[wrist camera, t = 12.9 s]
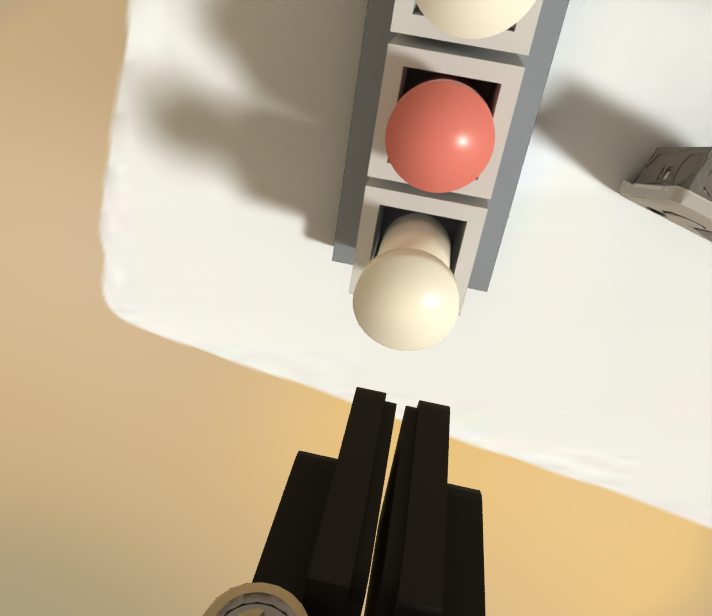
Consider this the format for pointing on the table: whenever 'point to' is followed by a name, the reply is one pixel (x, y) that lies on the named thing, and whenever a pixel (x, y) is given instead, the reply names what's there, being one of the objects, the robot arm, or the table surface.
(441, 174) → the red rounded knob
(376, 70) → the grey compartment rack
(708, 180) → the electrical switch
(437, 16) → the ivory plunger
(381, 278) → the ivory plunger
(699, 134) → the table surface
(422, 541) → the robot arm
